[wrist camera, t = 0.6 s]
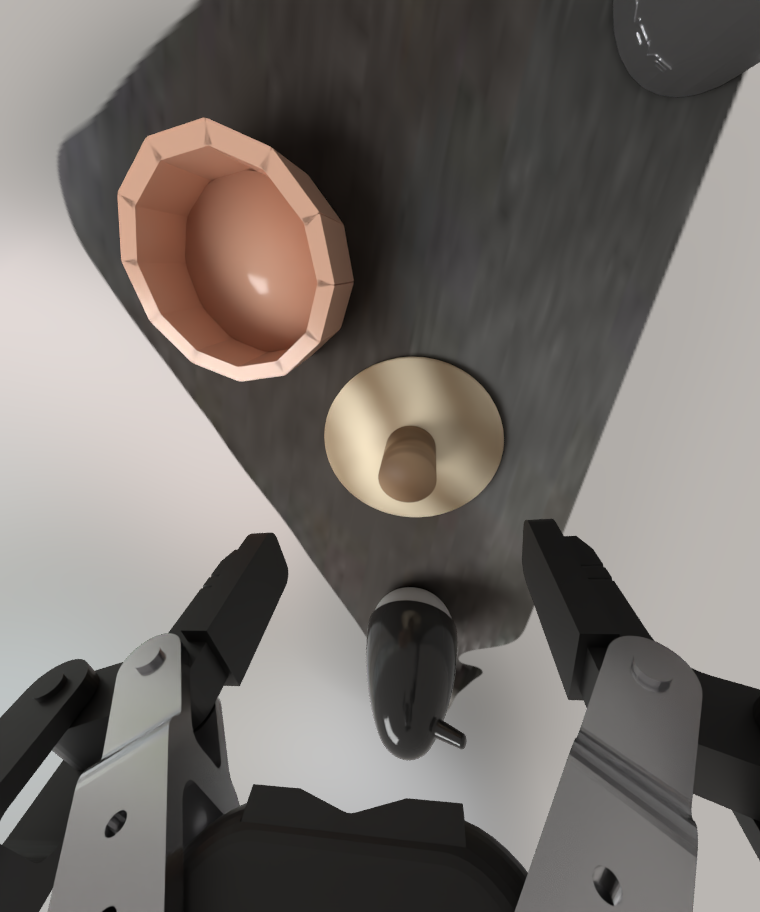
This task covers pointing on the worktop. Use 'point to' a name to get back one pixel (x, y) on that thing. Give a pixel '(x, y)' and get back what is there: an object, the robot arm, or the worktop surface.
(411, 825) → the robot arm
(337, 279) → the bowl
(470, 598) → the worktop surface
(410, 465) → the lid
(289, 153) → the worktop surface
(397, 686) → the pump dispenser
